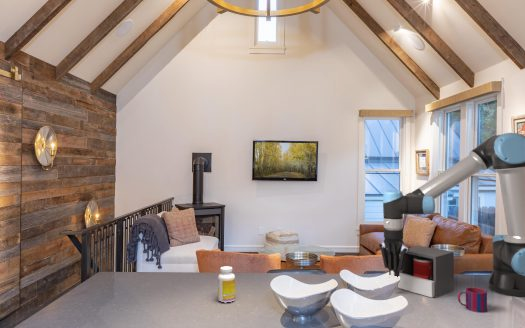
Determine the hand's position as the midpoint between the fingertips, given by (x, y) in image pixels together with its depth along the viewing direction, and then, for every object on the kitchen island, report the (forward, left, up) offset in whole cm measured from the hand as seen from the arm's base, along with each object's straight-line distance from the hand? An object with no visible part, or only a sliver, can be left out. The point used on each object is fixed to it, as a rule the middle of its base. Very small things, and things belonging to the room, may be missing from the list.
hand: (394, 286), depth 153 cm
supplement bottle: (+35, +59, -3) cm, 68 cm away
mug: (-26, -8, -3) cm, 28 cm away
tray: (-4, -15, -3) cm, 15 cm away
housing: (-4, -16, -3) cm, 17 cm away
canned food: (-5, -14, -1) cm, 15 cm away
